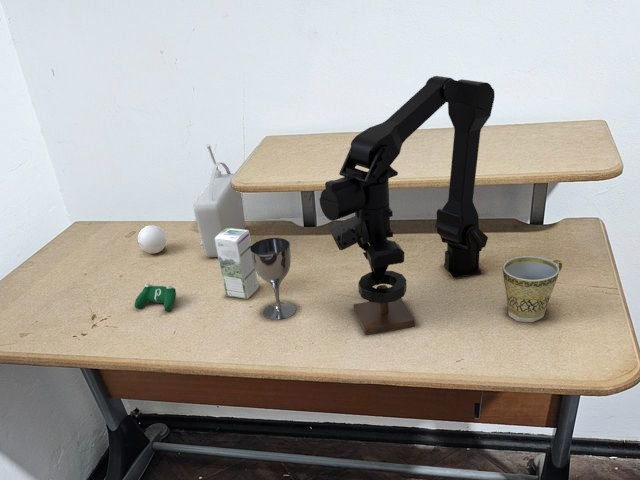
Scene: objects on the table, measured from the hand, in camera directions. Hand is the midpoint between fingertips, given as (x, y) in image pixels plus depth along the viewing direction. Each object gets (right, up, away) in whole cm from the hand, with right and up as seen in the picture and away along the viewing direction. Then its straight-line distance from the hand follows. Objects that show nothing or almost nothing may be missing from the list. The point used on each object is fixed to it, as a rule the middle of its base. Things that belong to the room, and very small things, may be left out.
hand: (377, 278), depth 126 cm
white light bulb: (-55, +11, +41) cm, 69 cm away
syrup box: (-29, -2, +16) cm, 33 cm away
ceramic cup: (+30, -7, -3) cm, 31 cm away
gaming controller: (-47, -4, +16) cm, 50 cm away
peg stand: (+1, -8, +1) cm, 8 cm away
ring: (+1, -3, -2) cm, 4 cm away
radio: (-36, +13, +40) cm, 55 cm away
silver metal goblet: (-20, -6, +8) cm, 22 cm away
